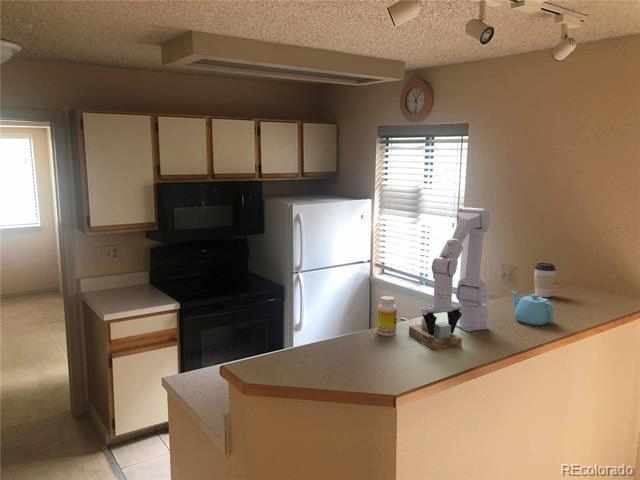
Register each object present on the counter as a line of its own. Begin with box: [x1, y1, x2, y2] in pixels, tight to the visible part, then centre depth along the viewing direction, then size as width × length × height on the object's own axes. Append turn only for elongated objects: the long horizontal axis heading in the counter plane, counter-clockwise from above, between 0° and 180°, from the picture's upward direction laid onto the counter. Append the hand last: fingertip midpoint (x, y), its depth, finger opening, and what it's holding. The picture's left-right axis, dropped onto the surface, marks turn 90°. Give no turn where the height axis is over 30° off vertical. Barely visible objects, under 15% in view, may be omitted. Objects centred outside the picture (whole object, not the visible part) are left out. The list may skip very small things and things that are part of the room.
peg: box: [434, 321, 451, 339], centre depth 168 cm, size 4×4×7 cm
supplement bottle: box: [376, 295, 398, 337], centre depth 178 cm, size 7×7×13 cm
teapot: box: [510, 290, 555, 326], centre depth 194 cm, size 13×11×18 cm
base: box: [408, 317, 463, 351], centre depth 172 cm, size 10×16×6 cm, turn 20°
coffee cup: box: [533, 262, 557, 298], centre depth 231 cm, size 9×9×15 cm
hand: (441, 333), depth 168 cm, fingers open, 7 cm apart
